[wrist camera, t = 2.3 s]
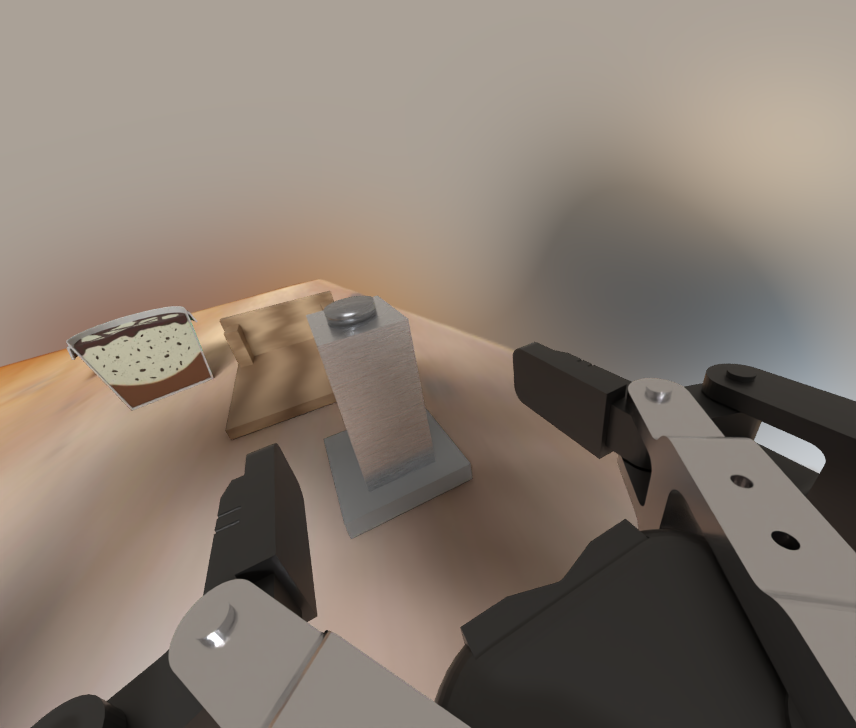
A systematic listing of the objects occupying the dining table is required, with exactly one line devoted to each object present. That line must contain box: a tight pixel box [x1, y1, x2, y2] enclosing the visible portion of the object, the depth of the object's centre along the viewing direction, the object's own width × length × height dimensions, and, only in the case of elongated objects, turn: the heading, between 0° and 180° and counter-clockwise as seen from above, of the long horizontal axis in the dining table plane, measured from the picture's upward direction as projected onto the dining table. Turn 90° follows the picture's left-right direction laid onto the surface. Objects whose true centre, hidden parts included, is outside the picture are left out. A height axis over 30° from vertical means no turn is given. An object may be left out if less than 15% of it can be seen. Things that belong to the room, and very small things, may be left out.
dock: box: [220, 291, 337, 440], centre depth 40 cm, size 15×19×7 cm
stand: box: [324, 408, 472, 539], centre depth 25 cm, size 9×9×2 cm
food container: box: [66, 306, 214, 411], centre depth 42 cm, size 12×6×10 cm, turn 129°
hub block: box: [306, 296, 436, 492], centre depth 22 cm, size 5×6×12 cm
